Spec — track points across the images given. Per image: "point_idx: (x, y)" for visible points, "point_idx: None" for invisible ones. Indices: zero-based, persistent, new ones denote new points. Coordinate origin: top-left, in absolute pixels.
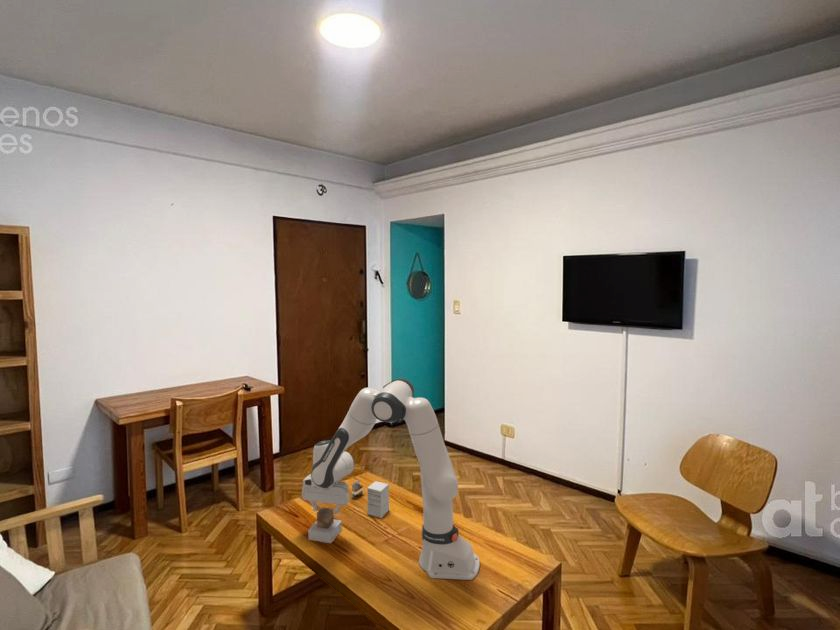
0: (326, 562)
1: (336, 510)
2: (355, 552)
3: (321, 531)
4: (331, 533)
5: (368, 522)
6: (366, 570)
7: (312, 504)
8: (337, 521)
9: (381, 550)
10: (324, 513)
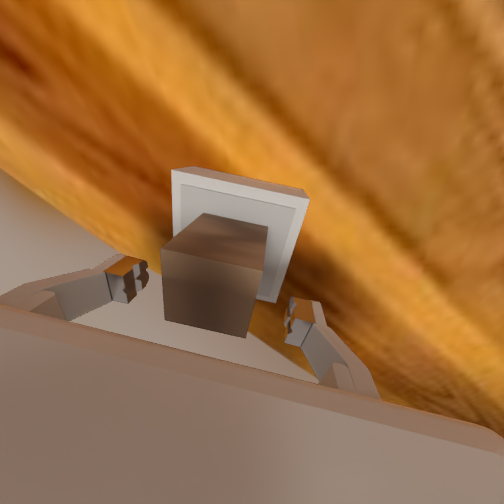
0: (282, 345)
1: (306, 347)
2: (365, 317)
3: None
4: (277, 296)
5: (469, 92)
6: (392, 372)
7: (74, 314)
8: (288, 217)
9: (465, 312)
10: (217, 326)
